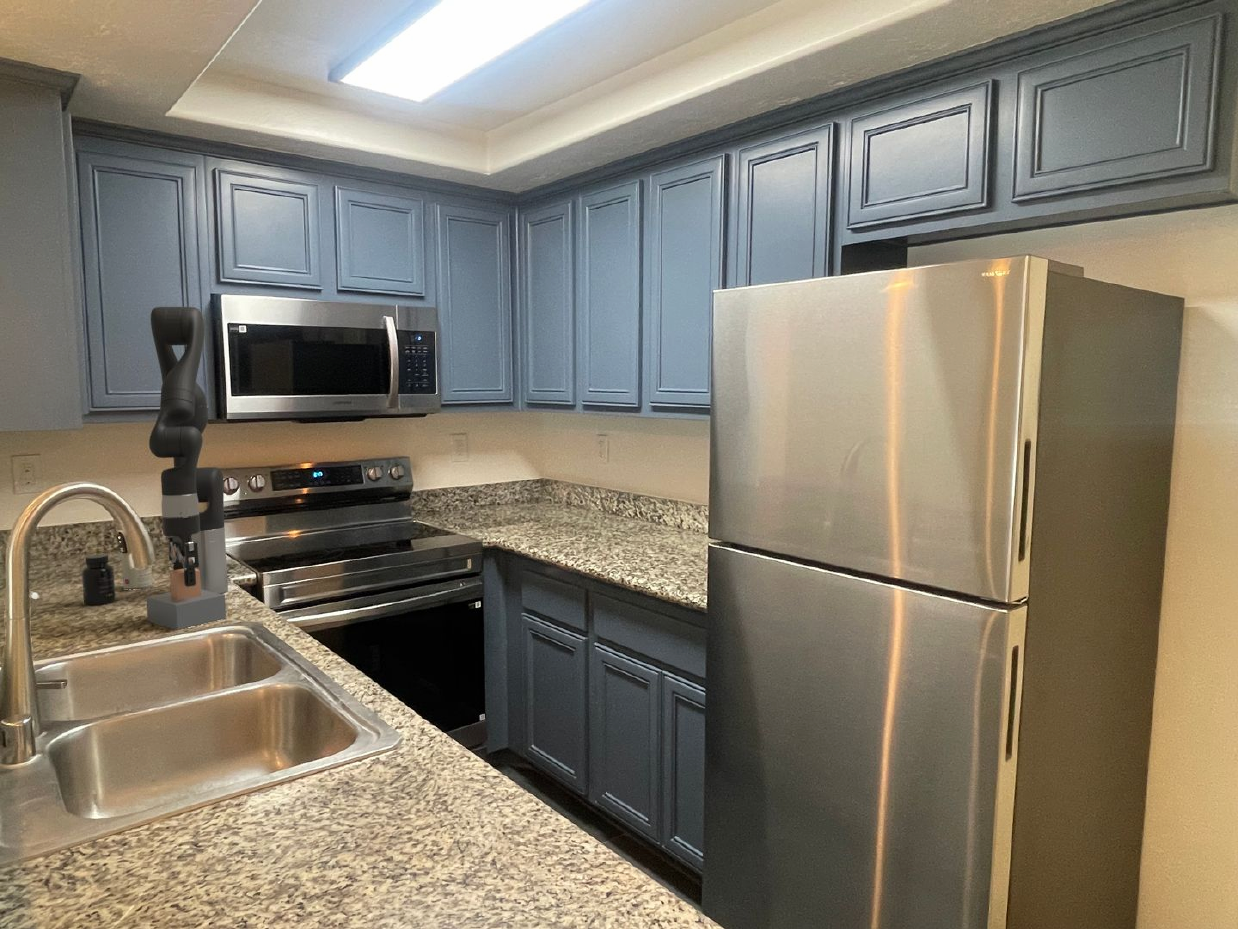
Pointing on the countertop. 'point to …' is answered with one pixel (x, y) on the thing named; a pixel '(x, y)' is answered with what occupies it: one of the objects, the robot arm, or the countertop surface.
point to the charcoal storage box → (185, 609)
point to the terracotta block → (179, 586)
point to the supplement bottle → (98, 581)
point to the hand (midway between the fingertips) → (184, 583)
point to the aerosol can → (135, 576)
